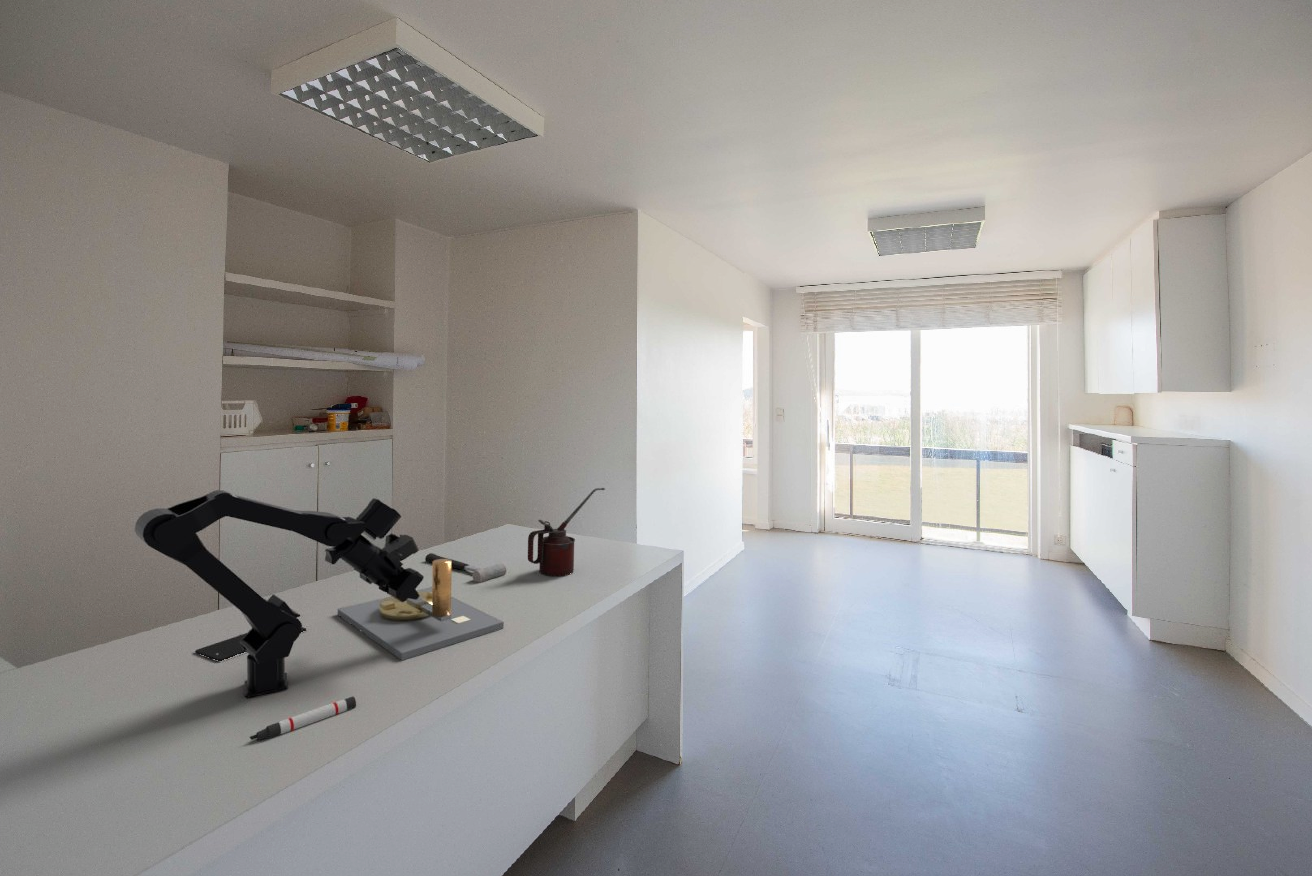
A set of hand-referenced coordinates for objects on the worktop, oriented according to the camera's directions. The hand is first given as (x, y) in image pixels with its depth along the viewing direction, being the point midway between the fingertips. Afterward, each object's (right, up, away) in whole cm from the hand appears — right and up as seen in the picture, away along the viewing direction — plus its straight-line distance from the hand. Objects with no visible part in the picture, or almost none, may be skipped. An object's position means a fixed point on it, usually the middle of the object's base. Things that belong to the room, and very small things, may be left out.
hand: (417, 597), depth 127 cm
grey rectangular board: (-4, -9, +11) cm, 15 cm away
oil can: (+24, -7, +57) cm, 62 cm away
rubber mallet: (-8, -7, +53) cm, 54 cm away
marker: (-5, -12, -32) cm, 35 cm away
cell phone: (-34, -9, -2) cm, 35 cm away
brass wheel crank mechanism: (-4, -7, +11) cm, 13 cm away
